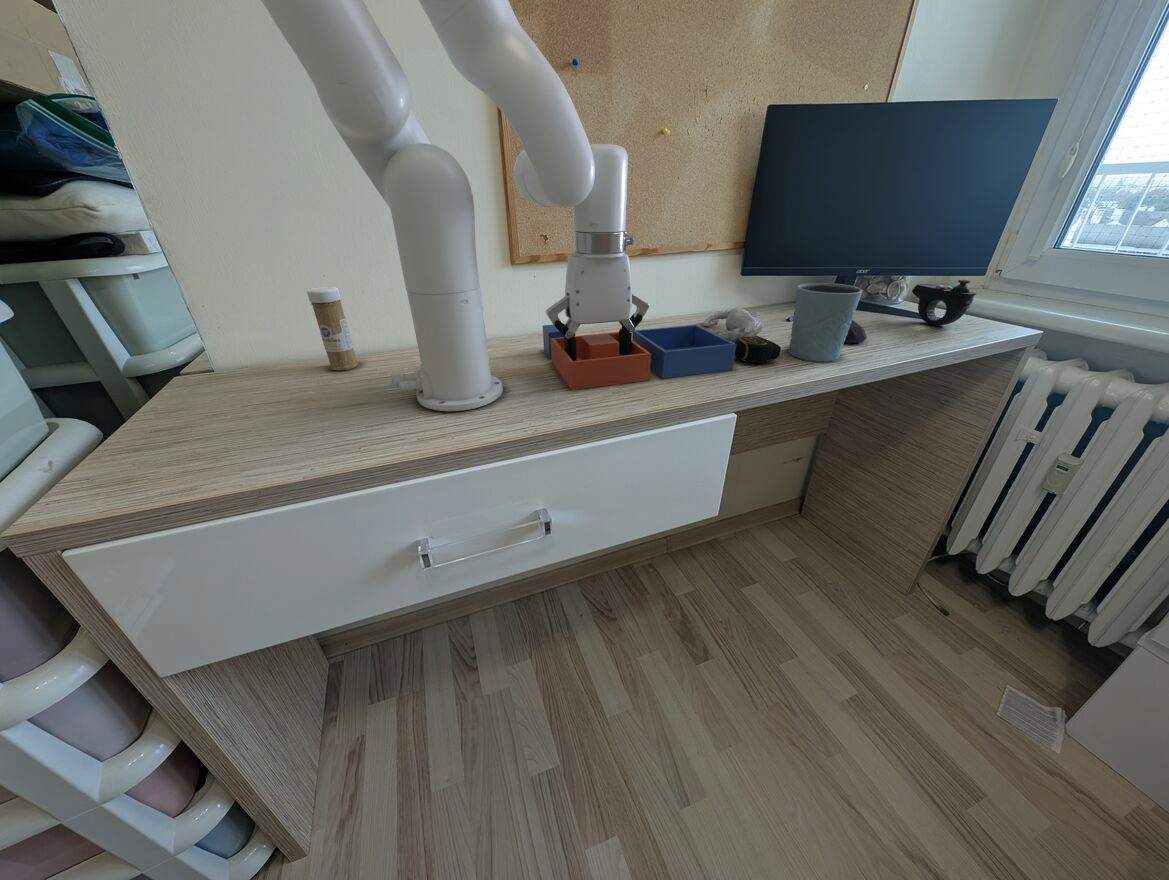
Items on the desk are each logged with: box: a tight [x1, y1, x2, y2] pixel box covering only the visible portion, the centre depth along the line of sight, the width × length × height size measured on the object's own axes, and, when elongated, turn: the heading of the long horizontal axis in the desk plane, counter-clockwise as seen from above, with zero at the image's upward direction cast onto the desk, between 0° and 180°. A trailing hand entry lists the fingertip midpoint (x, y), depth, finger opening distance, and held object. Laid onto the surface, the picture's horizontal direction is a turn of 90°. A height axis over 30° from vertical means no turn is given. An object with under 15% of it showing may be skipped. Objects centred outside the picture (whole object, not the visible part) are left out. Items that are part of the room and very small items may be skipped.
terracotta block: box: [581, 334, 619, 360], centre depth 73 cm, size 5×5×5 cm
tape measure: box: [734, 335, 782, 364], centre depth 78 cm, size 7×7×4 cm
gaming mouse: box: [844, 319, 868, 344], centre depth 91 cm, size 6×15×4 cm, turn 17°
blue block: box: [542, 323, 576, 360], centre depth 81 cm, size 5×5×5 cm
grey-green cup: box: [788, 282, 863, 363], centre depth 78 cm, size 10×10×12 cm
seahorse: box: [702, 307, 765, 343], centre depth 92 cm, size 5×12×20 cm
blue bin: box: [632, 324, 736, 380], centre depth 77 cm, size 13×13×4 cm
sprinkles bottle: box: [306, 285, 359, 371], centre depth 74 cm, size 5×5×13 cm
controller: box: [911, 279, 978, 327], centre depth 97 cm, size 4×12×10 cm, turn 17°
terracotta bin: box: [551, 331, 651, 391], centre depth 73 cm, size 13×13×4 cm
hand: (598, 356), depth 73 cm, fingers open, 8 cm apart
